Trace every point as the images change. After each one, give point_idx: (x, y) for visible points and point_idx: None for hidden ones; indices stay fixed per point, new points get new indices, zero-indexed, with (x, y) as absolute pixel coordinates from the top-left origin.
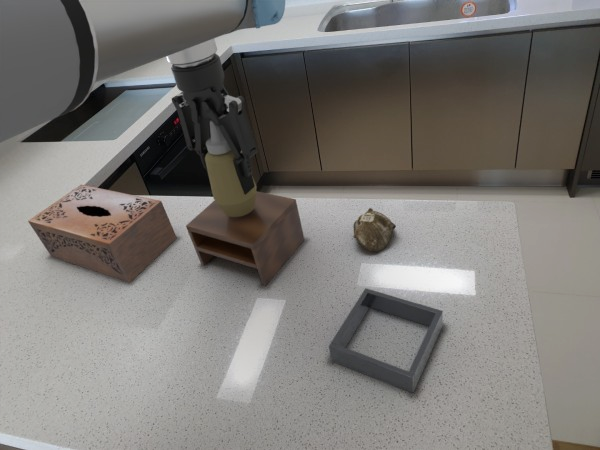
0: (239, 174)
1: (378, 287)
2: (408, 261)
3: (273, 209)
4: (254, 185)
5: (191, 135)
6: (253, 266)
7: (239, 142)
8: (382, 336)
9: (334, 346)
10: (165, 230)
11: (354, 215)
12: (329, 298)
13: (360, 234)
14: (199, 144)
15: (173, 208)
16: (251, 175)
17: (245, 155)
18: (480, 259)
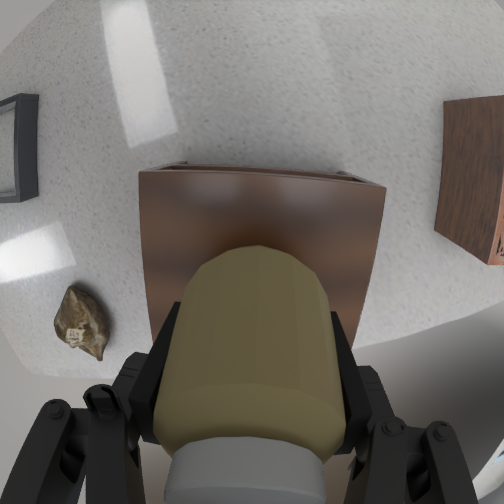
0: (151, 353)
1: (40, 227)
2: (39, 282)
3: None
4: None
5: (433, 496)
6: (182, 164)
7: (40, 472)
8: (12, 156)
9: (15, 97)
10: (454, 222)
11: None
12: (76, 181)
13: (76, 305)
14: (379, 471)
15: (469, 297)
16: None
17: (50, 413)
18: (3, 300)
